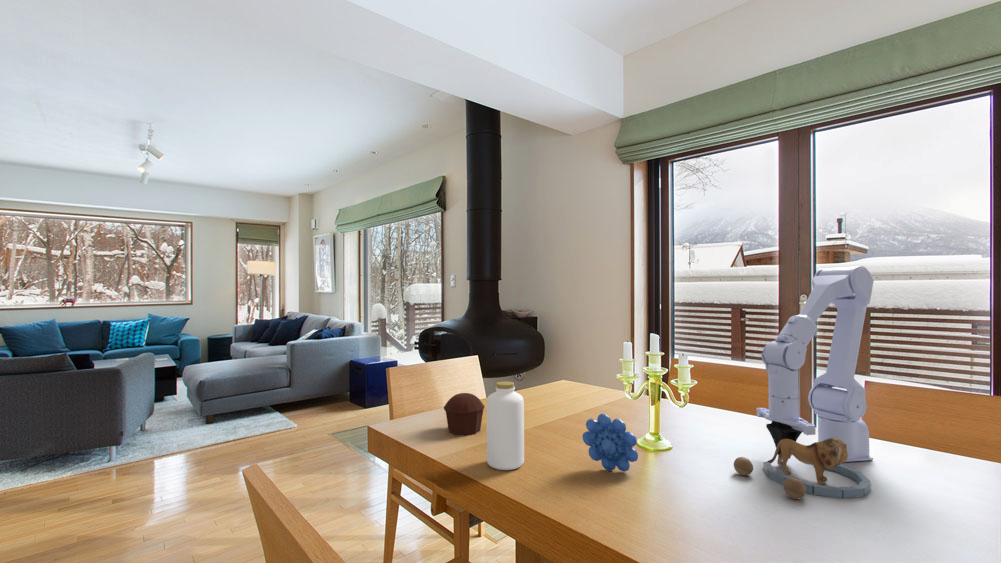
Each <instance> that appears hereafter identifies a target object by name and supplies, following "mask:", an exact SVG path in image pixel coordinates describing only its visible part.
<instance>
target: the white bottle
mask: <svg viewBox="0 0 1001 563" xmlns="http://www.w3.org/2000/svg"><path fill="white" fill-rule="evenodd" d="M495 385H496V386H495V391H494V392H492V393H491V394H489V395H488V396H487V399H486V463H487V464H488V465H489V467H491V468H493V469H495V470H500V471H512V470H513V471H514V470H515V469H518V468H521V467H522V465H523V464H524V462H525V401H524V397H523V396H522V394H520V393H518V392H517V391H515V389H516V386H515V383H514V381H498V382H496V384H495Z"/></svg>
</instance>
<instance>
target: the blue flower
mask: <svg viewBox="0 0 1001 563" xmlns="http://www.w3.org/2000/svg"><path fill="white" fill-rule="evenodd" d="M585 426H586V429H587V431H585V432H583V434H582V441H583V442H584V444H585V445H586V446H588V447H589V448H588V456H589V457H590V459H591V460H592V461H595V462H599V461H600V463H601V465H602V467H603V469H604V470H606V471H609V472H612V471H615V469H616V468H617V469H618V470H619V471H621V472H627V471H629V469H630V467H631V465H630V462H631V463H635V462H636V461H638V459H639V454H638V451H637V450H636V449H635V448H634V447H635V446H636V445H637V441H638V440H637V437H636V436H635V435H634V433H633V432H630V431H627V426H626V423H625V422H624V421H623V420H622V419H620V418H614V419H612V418H610V416H609V415H607V414H605V413H600V414H598V416H597V419H593V418H589V419H587V420H586V422H585Z"/></svg>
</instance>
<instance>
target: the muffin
mask: <svg viewBox="0 0 1001 563" xmlns="http://www.w3.org/2000/svg"><path fill="white" fill-rule="evenodd" d="M485 408H486V406H485V405H484V403H483V402H482V400H481V399H480V398H479V397H478V396H476V395H475V394H473V393H468V392H461V393H456V394H455V395H452V397H451V398H449V399H448V400H447V402H446V403H445V405H444V406H443V410H444V411H445V416H446V423H447V429H448V433H449V434H450V433H451V435H453V436H462V435H463V436H465V437H466V436H471V435H472V434H473V435H476V434H478V433H480V432H481V427H482V423H483V422H482V421H483V414H484V409H485ZM479 431H480V432H479ZM477 432H478V433H477Z"/></svg>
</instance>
